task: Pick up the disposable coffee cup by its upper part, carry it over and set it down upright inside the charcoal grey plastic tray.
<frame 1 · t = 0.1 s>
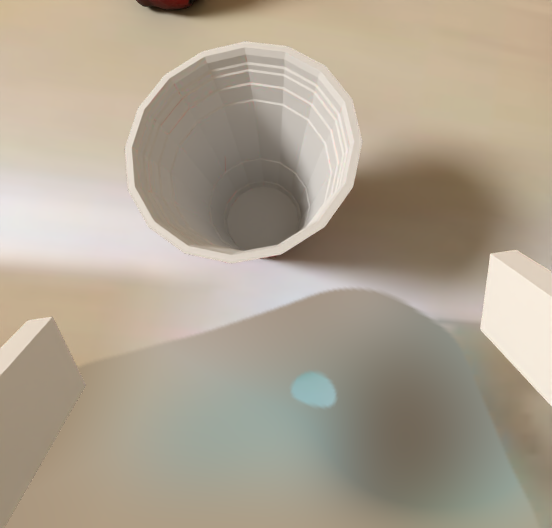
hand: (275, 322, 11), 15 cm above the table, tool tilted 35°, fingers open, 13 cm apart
plastic cup: (260, 220, 28), on the table
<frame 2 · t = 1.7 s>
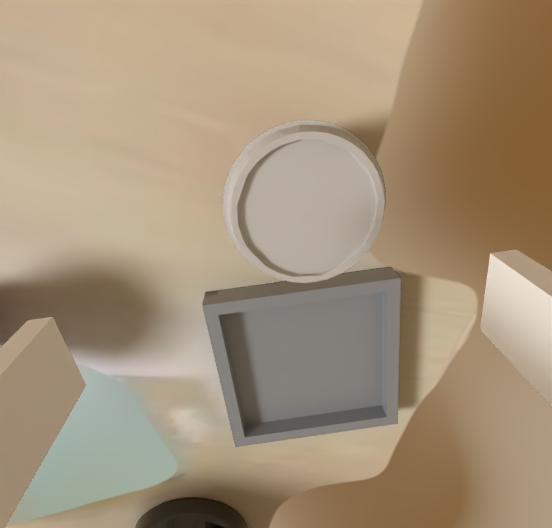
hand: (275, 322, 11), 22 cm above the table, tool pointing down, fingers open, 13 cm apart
tray: (306, 354, 39), on the table
disposable coffee cup: (287, 174, 31), on the table
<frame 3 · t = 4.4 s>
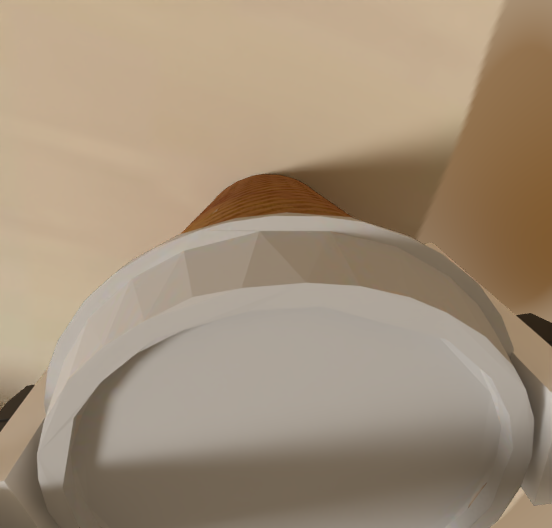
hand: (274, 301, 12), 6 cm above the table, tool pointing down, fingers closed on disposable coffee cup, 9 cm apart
disposable coffee cup: (268, 239, 18), on the table, touching gripper
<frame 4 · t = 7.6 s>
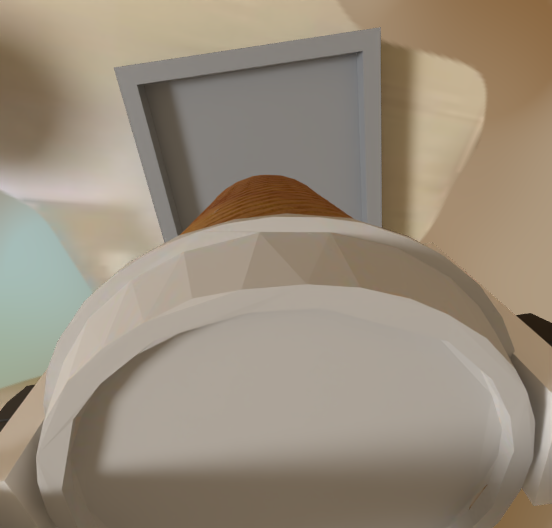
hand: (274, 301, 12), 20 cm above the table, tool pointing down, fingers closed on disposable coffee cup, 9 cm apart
tray: (265, 174, 31), on the table
disposable coffee cup: (268, 239, 17), point 15 cm above the table, touching gripper
when the fingers open (7 cm above the table, at t = 10.9 s): disposable coffee cup drops 1 cm, resting on tray.
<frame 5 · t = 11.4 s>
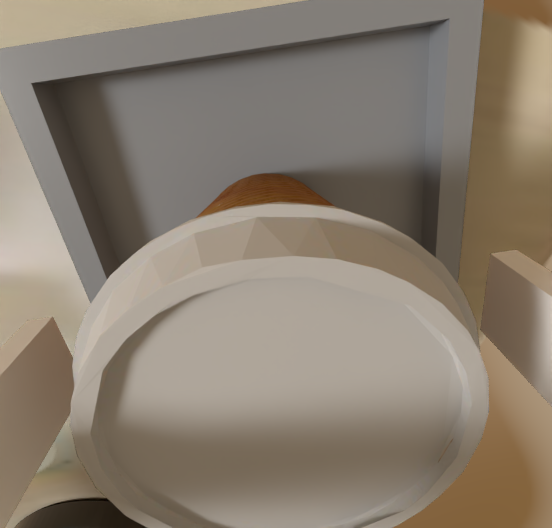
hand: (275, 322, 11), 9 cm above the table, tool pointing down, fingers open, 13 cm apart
tray: (267, 226, 19), on the table
disposable coffee cup: (268, 234, 19), point 1 cm above the table, touching tray
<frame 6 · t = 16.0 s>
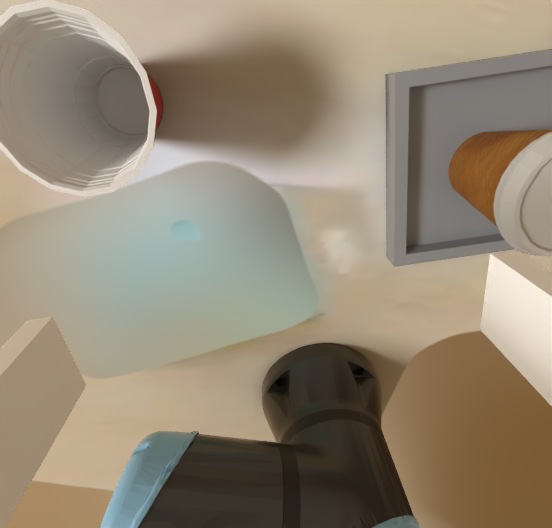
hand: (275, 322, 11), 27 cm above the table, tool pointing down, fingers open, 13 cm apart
tray: (476, 161, 36), on the table
disposable coffee cup: (479, 165, 36), point 1 cm above the table, touching tray
plastic cup: (128, 101, 33), on the table
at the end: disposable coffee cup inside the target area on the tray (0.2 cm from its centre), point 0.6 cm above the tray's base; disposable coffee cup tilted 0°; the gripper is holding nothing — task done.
